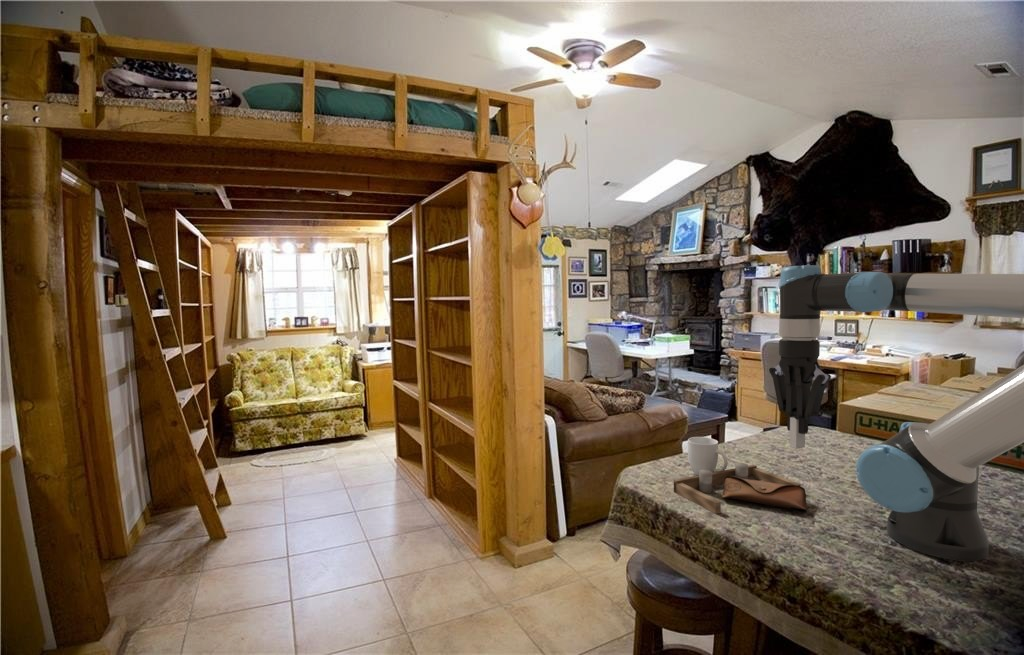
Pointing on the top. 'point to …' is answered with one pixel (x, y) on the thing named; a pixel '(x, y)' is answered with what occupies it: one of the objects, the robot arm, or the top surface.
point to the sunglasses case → (765, 492)
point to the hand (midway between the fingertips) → (797, 446)
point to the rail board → (709, 479)
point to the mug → (704, 454)
